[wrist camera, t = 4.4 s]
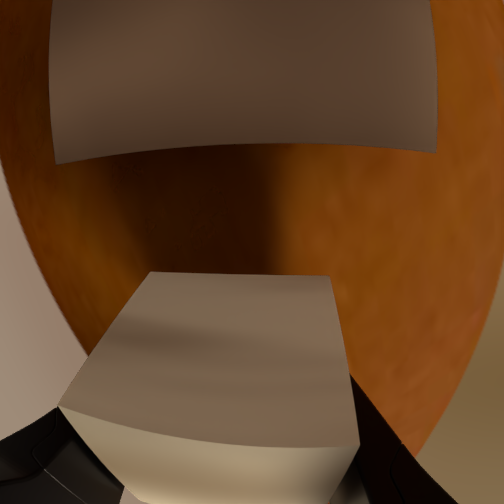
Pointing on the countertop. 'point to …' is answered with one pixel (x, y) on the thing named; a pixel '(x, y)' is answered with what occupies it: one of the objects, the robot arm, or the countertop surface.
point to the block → (221, 391)
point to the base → (240, 74)
